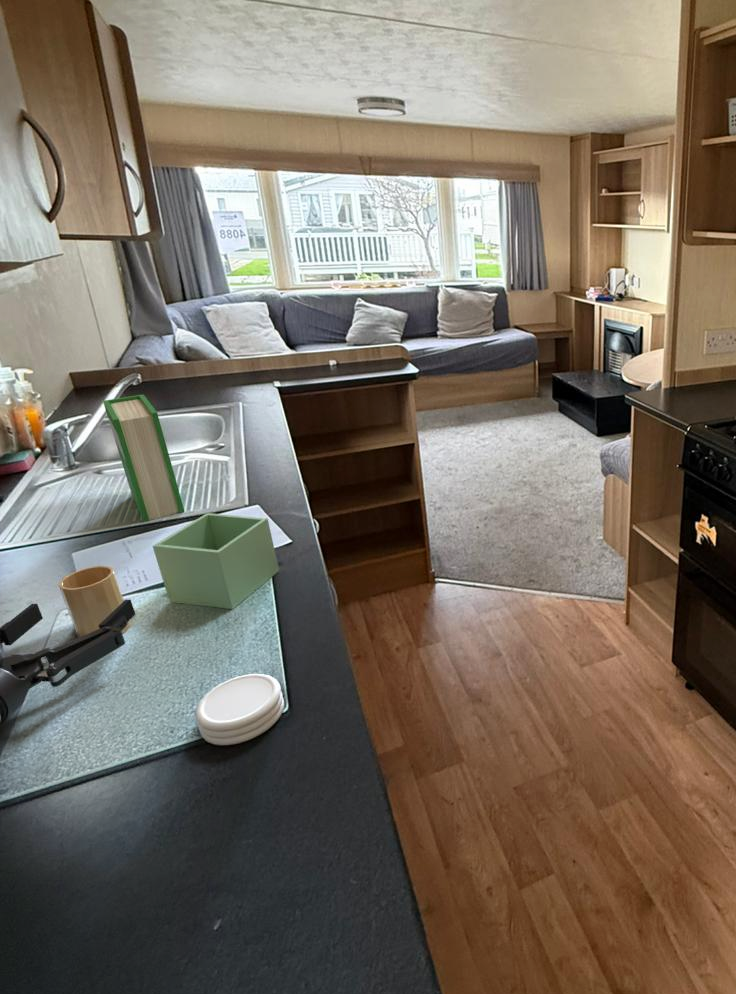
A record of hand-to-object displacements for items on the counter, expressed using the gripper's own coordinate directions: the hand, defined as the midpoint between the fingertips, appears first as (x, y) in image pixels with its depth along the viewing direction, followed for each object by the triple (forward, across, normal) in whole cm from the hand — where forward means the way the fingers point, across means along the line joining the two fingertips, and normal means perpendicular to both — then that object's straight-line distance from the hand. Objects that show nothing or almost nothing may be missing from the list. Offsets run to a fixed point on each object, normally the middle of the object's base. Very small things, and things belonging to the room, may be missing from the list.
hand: (84, 608), depth 100 cm
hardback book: (+48, -16, -6) cm, 51 cm away
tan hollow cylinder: (+2, 0, -6) cm, 6 cm away
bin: (+14, +14, -6) cm, 21 cm away
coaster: (-19, +30, -6) cm, 36 cm away
